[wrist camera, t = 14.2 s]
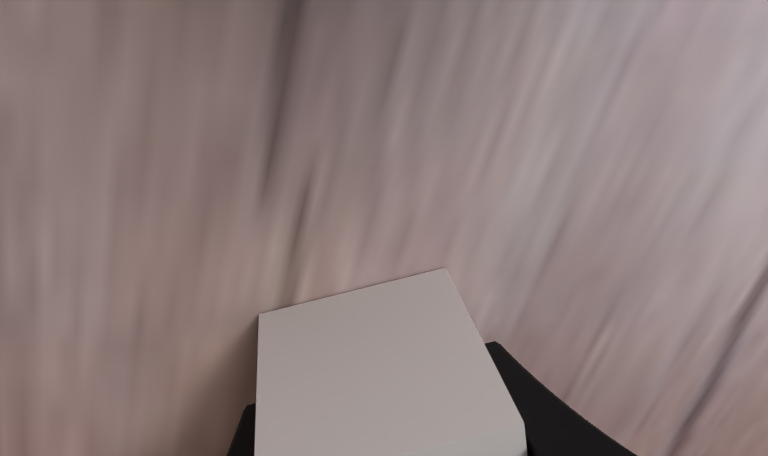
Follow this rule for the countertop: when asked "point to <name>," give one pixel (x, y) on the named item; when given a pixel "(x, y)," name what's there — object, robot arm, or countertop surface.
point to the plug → (382, 377)
